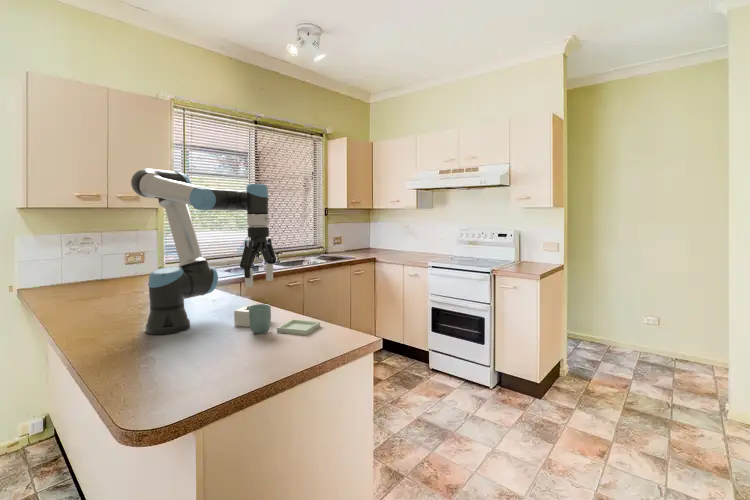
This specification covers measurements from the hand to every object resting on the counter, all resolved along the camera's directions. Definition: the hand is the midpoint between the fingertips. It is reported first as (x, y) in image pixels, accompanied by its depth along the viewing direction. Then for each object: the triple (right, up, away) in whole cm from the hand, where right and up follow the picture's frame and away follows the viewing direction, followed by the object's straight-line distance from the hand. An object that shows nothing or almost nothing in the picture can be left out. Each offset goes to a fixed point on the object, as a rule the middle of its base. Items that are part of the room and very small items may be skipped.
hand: (259, 283), depth 146 cm
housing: (-7, -17, +14) cm, 24 cm away
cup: (0, -19, +2) cm, 19 cm away
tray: (+13, -18, +6) cm, 23 cm away
